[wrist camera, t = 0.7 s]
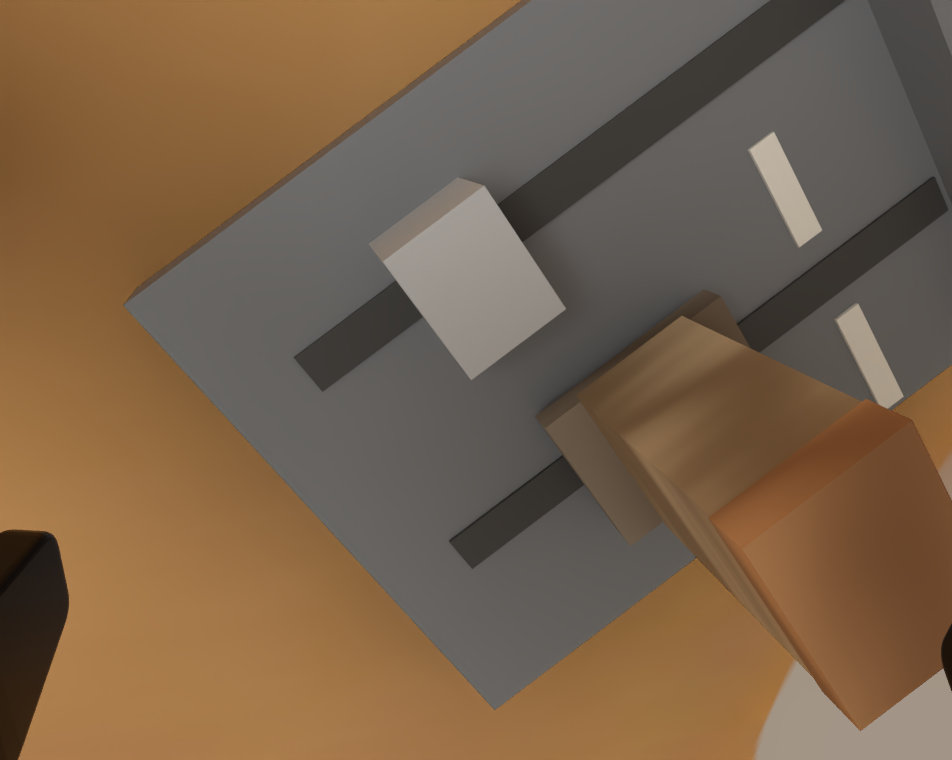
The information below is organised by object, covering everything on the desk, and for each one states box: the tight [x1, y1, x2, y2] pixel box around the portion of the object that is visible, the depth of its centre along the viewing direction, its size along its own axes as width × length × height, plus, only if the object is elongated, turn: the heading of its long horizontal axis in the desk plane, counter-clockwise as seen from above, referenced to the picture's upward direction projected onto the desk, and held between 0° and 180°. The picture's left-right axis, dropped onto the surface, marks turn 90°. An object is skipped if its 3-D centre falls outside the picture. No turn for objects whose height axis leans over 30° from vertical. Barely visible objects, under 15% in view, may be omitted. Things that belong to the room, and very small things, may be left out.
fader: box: [535, 290, 952, 731], centre depth 17 cm, size 5×4×8 cm
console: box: [123, 0, 952, 710], centre depth 19 cm, size 18×14×4 cm
